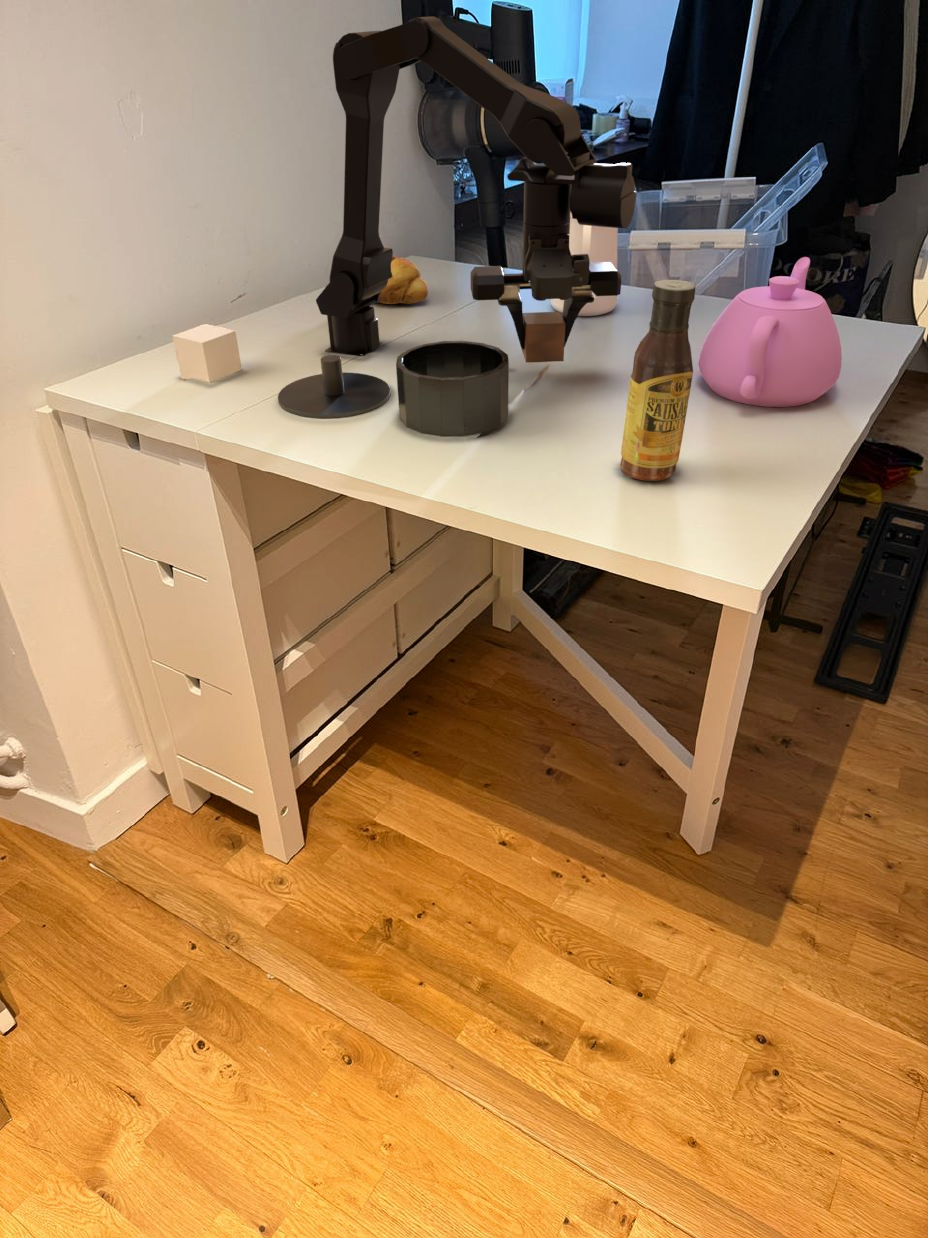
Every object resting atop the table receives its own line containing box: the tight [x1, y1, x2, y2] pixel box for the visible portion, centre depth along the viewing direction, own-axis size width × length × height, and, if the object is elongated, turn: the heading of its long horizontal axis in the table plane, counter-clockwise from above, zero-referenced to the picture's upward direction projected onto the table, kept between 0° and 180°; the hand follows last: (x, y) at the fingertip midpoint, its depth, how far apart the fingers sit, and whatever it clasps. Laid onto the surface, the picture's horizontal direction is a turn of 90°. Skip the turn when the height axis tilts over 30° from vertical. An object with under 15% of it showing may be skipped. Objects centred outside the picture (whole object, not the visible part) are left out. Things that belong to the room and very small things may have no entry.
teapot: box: [697, 256, 843, 408], centre depth 112 cm, size 25×18×14 cm
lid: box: [277, 354, 392, 419], centre depth 112 cm, size 15×15×6 cm
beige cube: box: [171, 323, 243, 384], centre depth 121 cm, size 6×6×6 cm
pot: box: [395, 340, 510, 439], centre depth 106 cm, size 13×13×8 cm
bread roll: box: [378, 245, 429, 305], centre depth 148 cm, size 13×10×8 cm
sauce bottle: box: [620, 279, 696, 482], centre depth 90 cm, size 7×6×20 cm
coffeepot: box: [550, 214, 619, 317], centre depth 139 cm, size 11×25×19 cm, turn 172°
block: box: [521, 311, 565, 364], centre depth 115 cm, size 5×5×5 cm
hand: (542, 347), depth 116 cm, fingers closed on block, 5 cm apart
